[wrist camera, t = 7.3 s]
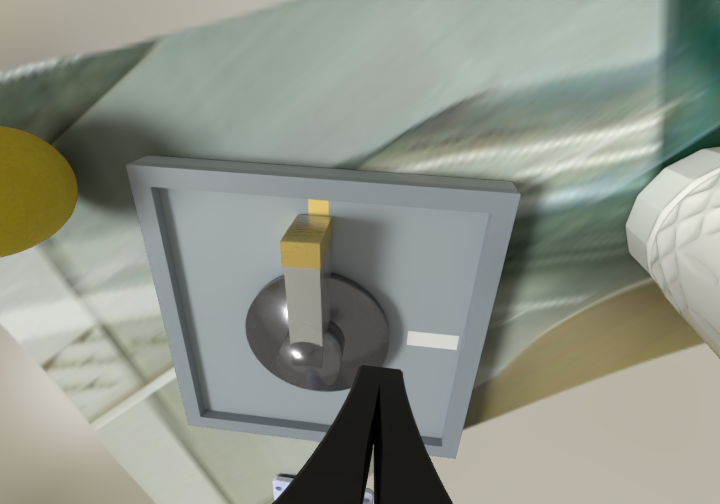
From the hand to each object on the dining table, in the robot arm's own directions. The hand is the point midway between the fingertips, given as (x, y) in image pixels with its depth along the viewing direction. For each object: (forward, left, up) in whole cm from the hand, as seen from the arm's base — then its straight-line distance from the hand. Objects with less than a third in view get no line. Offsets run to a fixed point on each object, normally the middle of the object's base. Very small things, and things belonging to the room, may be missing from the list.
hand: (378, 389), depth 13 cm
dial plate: (-4, +4, -9) cm, 11 cm away
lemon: (+4, +18, -10) cm, 20 cm away
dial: (-3, +4, -8) cm, 9 cm away
